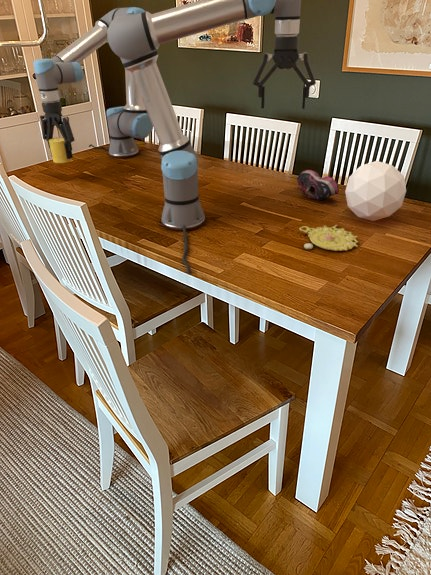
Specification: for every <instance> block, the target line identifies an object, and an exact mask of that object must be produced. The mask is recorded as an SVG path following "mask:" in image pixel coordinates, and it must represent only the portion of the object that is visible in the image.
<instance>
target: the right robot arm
mask: <svg viewBox="0 0 431 575" xmlns="http://www.w3.org/2000/svg"><path fill="white" fill-rule="evenodd" d="M301 7H302V0H196V1H193V2H189V3H185V4H182V5H179V6H175V7H172V8H168V9H165V10H162V11H158V12H154V13H151V12H150V11H147V10H145V12H143V13H139V14H133V13H128V14H123V15H120V16H117V17H116V18H114V19H113V20H112V22H111V23H110V25H109V28H108V32H107V38H108V42H109V43H108V45H109V48H110V49H111V51H112V52H113V53H114V54H115V55H116V56H118V58H120V61H121V63H122V66H123V68H124V70H125V69H126V70H128V71H130V72H131V73H132V75H133V78H134V80H135V83H136V85H137V88H138V90H139V93H140V95H141V97H142V100H143V102H144V105H145V107H146V110H147V112H148V115H149V117H150V120H151V122H152V125H153V130H154V132H155V134H156V137H157V140H158V142H159V146H158V149H157V151H158V153H159V156H160V158H161V165H160V168H161V173H162V182H163V183H162V184H163V194H164V204H163V209H162V213H161V219H160V220H161V225H162V227H163V228H165V229H167V230H170V231H175V232H176V231H177V232H183V242H184V251H183V255H182V263H183V264H184V266H185V267H186V270H187V274H188V275H191V274H192V270H191V266H190V264H189V263H188V262H187V259H186V257H187V253H188V248H189V246H188V244H189V243H188V237H187V236H188V235H187V231H192V230H195V229H198V228H201V227H202V226H203V225H204V224H205V223H206V216H205V212H204V210H203V208H202V204H201V202H200V196H199V176H198V169H199V157H198V154H197V152H196V151H195V149H194V148H193V145H192V143H191V140H190V137H189V136H187V135H184V133H183V131H182V128H181V126H180V123H179V120H178V116H177V114H176V111H175V110H174V107H173V104H172V101H171V99H170V95H169V93H168V90H167V88H166V85H165V83H164V80H163V77H162V74H161V72H160V69H159V67H158V64H157V62H158V61H157V60H158V58H159V53H158V50H159V48H160V46H161V45H163V44H166V43H169V42H173V41H176V40H180V39H185V38H186V37H191V36H193V35H197V34H200V33H205V32H207V31H211V30H215V29H218V28H221V27H225V26H228V25H232V24H235V23H238V22H242V21H246V20H251V19H253V18H257V17H263V16H266V15H269V14H271V15H273V14H274V15H275V16H274V18H275V20H274V35H275V37H274V39H273V40H274V43H273V45H274V46H273V53H268V52H265V53H264V55H263V59H262V63H261V65H260V67H259V69H258V71H257V73H256V76H255V77H254V79H253V82H252V84H253V85H254V86H256V87H258V91H257V92H258V93H257V96H258V98H261V106H260V108H261V109H264V108H265V97H266V96H265V93H266V86H265V85H264V84H265V83H266V82H267V81H268V79H270V77H271V76H272V74H273V73H274V72H275V71H276V70H277V68H278V69H279V70H284V69H286V70H291V69H293V70H294V71H295V72H296V74H297V75H298V77H299V78H300V80H301V81H302V83H303V84H304V86H303V92H302V106H301V108H302V109H303V110H305V107H306V98H309V97H310V88H311V87H312V86H315V85H316V83H317V82H316V79H315V76H314V73H313V70H312V68H311V65H310V63H309V60H308V59H309V58H308V53H307V51H306V52H303V53H299V41H300V39H299V38H300V37H299V36H298V34H300V23H301V9H302V8H301ZM271 59H272V60H273V62H274V64H273V65H272V67H271V68H270V69H269V71H267V73H266V74H265V75H264V77H263V78H262V79H261V80H260V78H261V76H262V75H263V72H264V70H265V68H266V66H267V64H268V62H270V61H271ZM299 59H300V61H302V62H303V64H304V67H305V69H306V72H307V74H308V77H309V80H310V81H309V80H308V78H307V77H306V75H305V74H304V73H303V72H302V70H301V68H300V67H299V65H298V64H297V62H298V61H299ZM259 80H260V81H259Z"/></svg>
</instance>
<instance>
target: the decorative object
mask: <svg viewBox="0 0 431 575" xmlns="http://www.w3.org/2000/svg"><path fill="white" fill-rule="evenodd" d="M303 228H304V229H305V230H304V229H303ZM299 231H300V232H303V233H305V234H307V237H308V238H309V240H310V241H311V243H304V244H303V248H304V249H305V250H313V249H314V245H315V246H316V247H318V248H321V249H324V250H328V251H335V252H341V251H348V250H352V249H354V247H356V248H358V247H359V245H358V244H357V243H359V240H357V238H359V237H358V235H353V234H352V231H347V230H346V229H345V228H344V227H342V228H338V224H335V225H333V226H331V227H328V226H327V225H326V224H325V225H323V226H322V227H321V226H317V227H316V228H314V227H309V226H308V225H302V226H300V227H299ZM313 244H314V245H313Z"/></svg>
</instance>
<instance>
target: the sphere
mask: <svg viewBox="0 0 431 575" xmlns="http://www.w3.org/2000/svg"><path fill="white" fill-rule="evenodd" d="M347 180H348V181H347V184H346V187H345V191H344V193H345V200H346V205H347V208H349V209H350V210H351V212H353V213H354V214H355V216H356V217H358V218H360V219H364V220H368V221H371V222H375V221H379V220H382V219H385V218H388V217H390V216H392V215H393V214H394V213H395V212H396V211H398V210H399V209H400V208H402V206H403V203H404V200H405V196H406V193H407V187H406V182H405V176H404V174H403V173H402V172H401V171H399V170H398V169H397V168H396V167H395V166H394V165H393V164H390V163H386V162H382V161H378V160H375V161H372V162H367V163H365V164H362V165H359V166H358V167H357V169H355V171H354V172H352V174H351V175H349V177H348V179H347Z"/></svg>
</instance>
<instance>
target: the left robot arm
mask: <svg viewBox="0 0 431 575" xmlns="http://www.w3.org/2000/svg"><path fill="white" fill-rule="evenodd" d="M143 12H146V10H145V9H143V8H141V7H135V6H129V7H116V8H113V9H111V10H109V11H108V13H105V14H104V15H103V16H102V17H101V18H99V19H98V20H97V21H95V23H94V26H93V27H92V28H90V29H89V30H88V31H86V32H85V33H83V35H81V36H80V37H78V38H77V39H76V40H74V41H73V42H72V43H71V44H69V45H68V46H66V47H65V48H63V50H61V51H60V52H59V53H57V54H55V55H54V56H53V57H52V58H38V59H33V63H32V64H33V71H34V75H35V79H36V84H37V88H38V93H39V99H40V101H41V108H42V111H43V113H44V114H42V115H39V120H40V122H41V134H42V139H43V140H45V141H46V142H47V145H48V149H49V151H50V156H51V157H52V153H51V149H50V144H49V140H50V139H52V138H54V130H55V129H54V128H55V127H56V128H57V129H58V131H59V133H60V135H61V137H63V139H64V140H65V142H66V143H65V144H64V145H65V150H66V155H67V159H71V158H72V159H73V158H74V156H73V145H72V143H73V142H75V137H74V133H73V130H72V127H71V125H70V118H69V117H68V116H64V115H63V113H62V111H63V107H62V102H61V101H60V100H61V96H60V91H59V87H58V86H59V85H62V84H64V85H65V84H72V83H75V84H76V83H79V82H82V81H83V79H84V71H83V67H82V65H81V64H80V63H81V62H83V61H84V60H85V59H86V58H88V57H89V56H90V55H92V54H93V53H94V52H96V51H97V50H98V49H99V48H101V47H102V46H103V45H105V44H106V43H108V44H109V42H108V38H107V32H108V28H109V25H110V23H111V22H112V20H113V19H114V18H116V17H117V16H120V15H123V14H128V13H133V14H139V13H143ZM124 72H125V73H124V75H125V96H126V98H125V100H126V103H125V105H123V106H115V107H110V108H107V109H106V119H107V128H108V132H109V140H110V141H109V148H107V147H106V146H95V145H93V144H89V145H88V148H91V147H92V148H93V149H105V150H106V151H108V156H109V157H111V158H115V159H125V158H132V157H135V156H137V155H139V148H138V145H137V143H136V141H135V139H141V140H142V139H146V138H147V137H150V134H152V132H153V130H154V127H153V125H152V122H151V120H150V117H149V115H148V112H147V110H146V107H145V105H144V102H143V100H142V97H141V95H140V93H139V90H138V88H137V85H136V83H135V80H134V78H133V75H132V73H131V72H130V71H128V70H126V69H125V68H124ZM134 138H135V139H134ZM67 139H68V140H67Z"/></svg>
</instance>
